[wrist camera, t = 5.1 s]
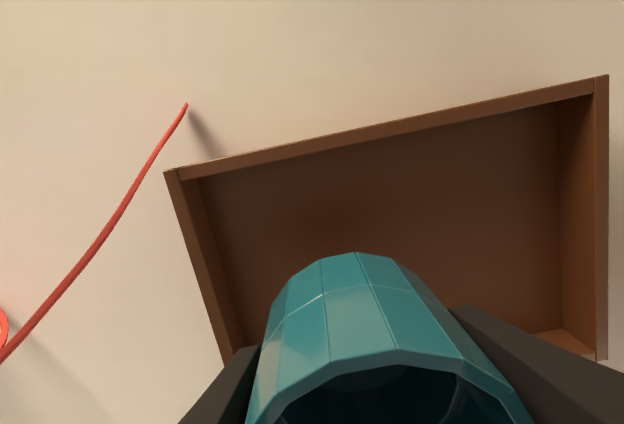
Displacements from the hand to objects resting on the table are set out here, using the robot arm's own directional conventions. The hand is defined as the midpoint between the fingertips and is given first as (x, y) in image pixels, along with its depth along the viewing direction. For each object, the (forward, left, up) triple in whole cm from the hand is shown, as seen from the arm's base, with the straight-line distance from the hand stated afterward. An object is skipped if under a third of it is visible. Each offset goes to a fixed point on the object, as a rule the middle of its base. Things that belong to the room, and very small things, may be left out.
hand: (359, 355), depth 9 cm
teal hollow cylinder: (0, 0, -1) cm, 1 cm away
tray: (0, -3, -7) cm, 8 cm away
